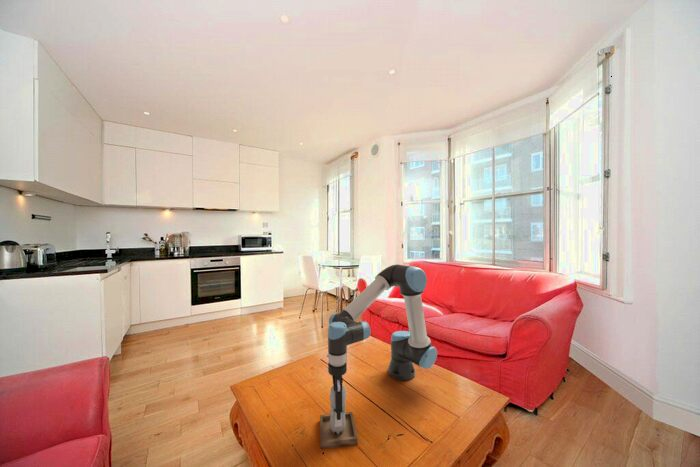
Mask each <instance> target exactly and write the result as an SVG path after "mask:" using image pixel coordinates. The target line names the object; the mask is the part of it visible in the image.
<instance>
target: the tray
mask: <svg viewBox="0 0 700 467" xmlns="http://www.w3.org/2000/svg"><path fill="white" fill-rule="evenodd" d="M330 417H331V413H330V414H329V413H327V414H326V413H325V414H320V415H319V426H320V427H319V432H320V433H319V434H320V436H319V437H320V438H319V440H320V450H323V449H331V448H340V447H348V446H357V445H358V435H357V429H356V424H355V420H354V414H353V411H349V412H348V411H347V412H346V411H345V422H346V424H345V429H344V431H343V433H341V432H339V434H337V433H336V432H335V433H333V432H332V430H331V428H330Z"/></svg>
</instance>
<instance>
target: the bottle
mask: <svg viewBox="0 0 700 467" xmlns="http://www.w3.org/2000/svg"><path fill="white" fill-rule="evenodd" d="M346 401H347V393H346V387H345V386H344V385H343V384H342V410H343V411H342V426H339V427H335V412H334V409H335V391H334V386H333V385H332V386H331V388H330V392H329V402H330V414H331V417H330V428H331V430H332V432H333V433H335V432H336V433H337V434H339V432H341V433H343V431H344V429H345V424H346V422H345V413H346Z"/></svg>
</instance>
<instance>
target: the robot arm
mask: <svg viewBox="0 0 700 467" xmlns="http://www.w3.org/2000/svg"><path fill="white" fill-rule="evenodd" d="M427 283H428V277H427V275H426V272H425V271H424V270H423V269H422V268H420V267H417V266H413V265H412V266H410V265H404V264H393V265H390V266H388V267H385V268H384V269H382V270H381V271H380V272H379V273H378V274H377V275H376V276H375V277H374V280H372V282H370V284H369V285H367V286H366V288H365V289H364V290H363V291H361V292H360V293H359V294H358V295H357V296H356V297H355V298H354V299H353V300H352V301H351V302H349V303H348V305H347V306H346V307H344V308H343V309H342V310H341V311H340V312H334V313H332V314H331V315H329V318H328V327H327V328H328V329H327V347H328V348H327V350H328V352H327V354H326V357H327V362H328V364H327V372H328V374H329V375H330V376H332V386H334V391H335V409H334V412H335V427H339V426H342V411H343V410H342V385H343V383H344V379H343V376H344V375H345V374H347V370H348V367H347V364H348V362H347V360H348V359H347V358H348V354H347V351H348V350H347V349H348V348H347V347H348V346H349V345H352V344H355V343H356V344H357V343H359V342H363V341H364V340H367V339H369V337H371V330H372V329H371V327H370V325H369V323H368V322H367V321H365V320H364V321H363V320H362V321H356V320H357V319H358V318H359V317H361V315H362V314H363V313H364V312H365V311H366V310H367V309H368V308H369V307H370V306H371V305H372V304H373V303H374V302H375V301H376V300H377V299H378V298H379V297H380V296H381V295H382V294H383V293H384V292H385V291H389V289H391V288H392V287H397V288H399V294H400V295H401V296H402V297H403V299H404V305H405V306H404V307H405V314H406V318H407V325H408V330H407V331H406V330H397V331H394V332H392V334H391V336H390V337H391V339H390V351H391V352H390V355H391V357H390V360H389V364H388V368H387V369H388V370H387V372H388V375H389V376H390V377H391V378H392V379H395V380H399V381H411V380H413V379H414V378H415V376H416V370H415V369H416V368H415V365H416V366H418V367H419V368H423V369H425V370H428V369H431V368H432V367H433V366H434V365H435V362H436V360H437V357H438V350H437V348H436V347H435V346H434V345H433V346H432V340H431V338H430V337H429V336H428V334H427V327H426V323H425V322H426V320H425V313H424V308H423V301H422V300H423V298H422V294H423V293H424V290H425V289H426V287H427Z"/></svg>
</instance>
